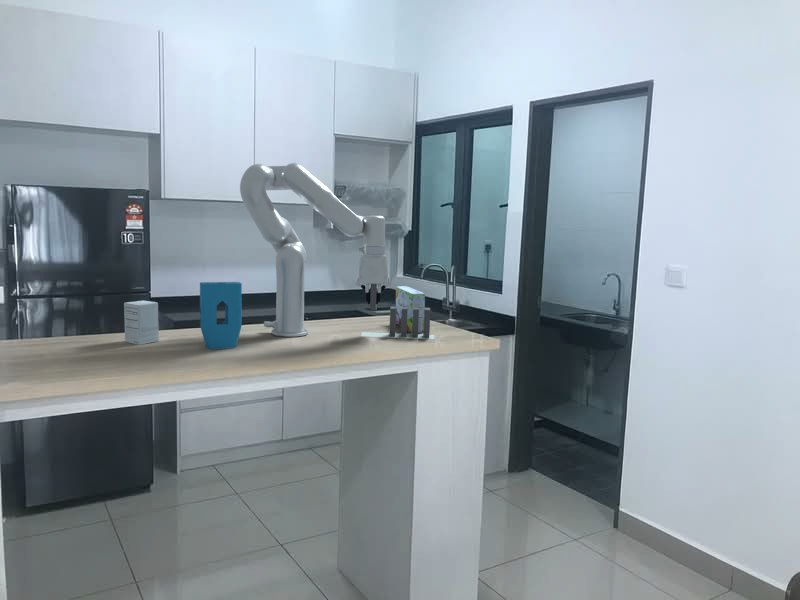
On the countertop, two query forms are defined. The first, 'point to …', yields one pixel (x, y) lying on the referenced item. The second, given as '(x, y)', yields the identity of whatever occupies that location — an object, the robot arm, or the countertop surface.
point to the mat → (386, 335)
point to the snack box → (410, 305)
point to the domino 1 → (373, 297)
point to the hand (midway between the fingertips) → (373, 303)
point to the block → (209, 299)
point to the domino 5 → (426, 323)
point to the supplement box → (141, 322)
